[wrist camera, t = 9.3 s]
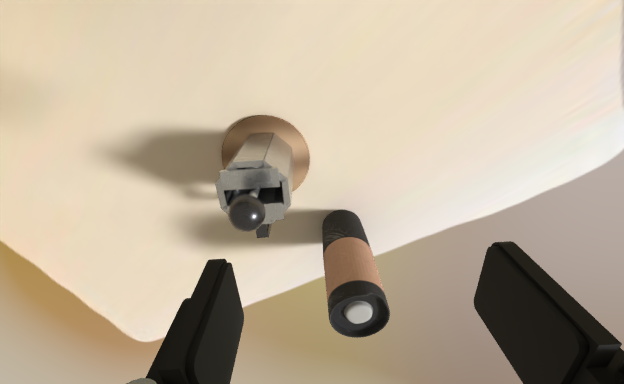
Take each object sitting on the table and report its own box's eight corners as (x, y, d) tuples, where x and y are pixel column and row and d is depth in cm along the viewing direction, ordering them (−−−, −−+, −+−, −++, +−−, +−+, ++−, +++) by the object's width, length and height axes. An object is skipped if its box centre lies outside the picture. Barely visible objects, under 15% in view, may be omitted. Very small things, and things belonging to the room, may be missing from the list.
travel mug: (325, 246, 55) (334, 342, 37) (316, 213, 52) (322, 301, 34) (365, 238, 54) (394, 333, 36) (359, 204, 51) (387, 289, 33)
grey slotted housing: (233, 135, 44) (208, 165, 33) (290, 131, 44) (285, 160, 33) (246, 201, 50) (228, 246, 38) (297, 198, 49) (294, 242, 38)
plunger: (239, 149, 42) (208, 199, 28) (280, 147, 42) (268, 195, 28) (246, 186, 45) (220, 248, 31) (285, 184, 45) (276, 244, 31)
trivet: (214, 118, 44) (213, 119, 43) (306, 112, 44) (306, 113, 43) (231, 199, 50) (230, 201, 49) (312, 194, 50) (312, 195, 49)
